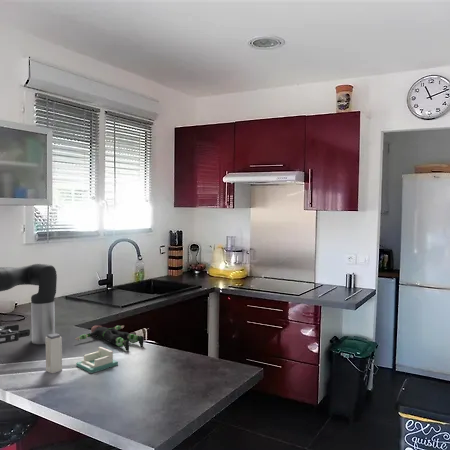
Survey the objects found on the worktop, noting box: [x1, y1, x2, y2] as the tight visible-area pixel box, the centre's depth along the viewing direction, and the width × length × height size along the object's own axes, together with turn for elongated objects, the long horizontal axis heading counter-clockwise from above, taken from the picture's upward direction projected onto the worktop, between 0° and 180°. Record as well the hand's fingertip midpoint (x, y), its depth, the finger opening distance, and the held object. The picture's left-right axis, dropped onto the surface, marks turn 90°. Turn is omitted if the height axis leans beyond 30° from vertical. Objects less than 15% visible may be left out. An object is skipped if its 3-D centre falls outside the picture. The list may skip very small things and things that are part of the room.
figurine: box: [74, 325, 145, 352], centre depth 192 cm, size 26×6×30 cm
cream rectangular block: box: [45, 332, 63, 374], centre depth 158 cm, size 4×5×13 cm
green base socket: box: [75, 346, 119, 374], centre depth 163 cm, size 10×11×5 cm
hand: (23, 329), depth 150 cm, fingers open, 8 cm apart
